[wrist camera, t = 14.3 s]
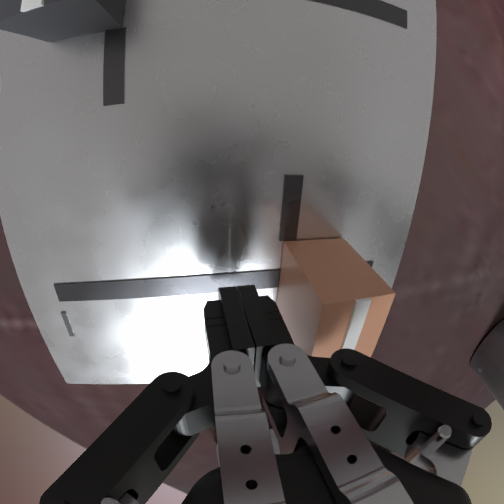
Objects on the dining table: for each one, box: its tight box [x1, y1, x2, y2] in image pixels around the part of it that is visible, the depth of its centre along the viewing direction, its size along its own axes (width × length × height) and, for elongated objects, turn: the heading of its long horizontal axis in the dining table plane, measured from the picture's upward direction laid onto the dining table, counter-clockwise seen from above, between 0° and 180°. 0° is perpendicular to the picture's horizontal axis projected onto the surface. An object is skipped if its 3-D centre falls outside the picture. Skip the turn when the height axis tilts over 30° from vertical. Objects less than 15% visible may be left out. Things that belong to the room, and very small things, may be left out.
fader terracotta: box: [277, 238, 395, 358], centre depth 13 cm, size 3×4×5 cm
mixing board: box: [0, 0, 436, 384], centre depth 12 cm, size 20×26×2 cm
